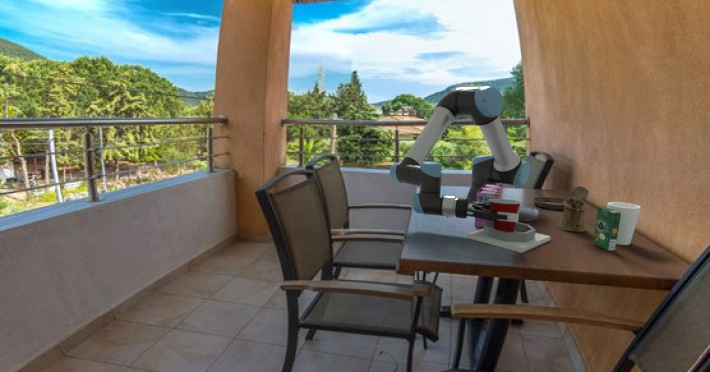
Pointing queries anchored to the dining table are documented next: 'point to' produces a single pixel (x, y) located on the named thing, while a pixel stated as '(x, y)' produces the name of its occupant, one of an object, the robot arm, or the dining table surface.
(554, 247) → the dining table surface
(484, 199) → the gum box
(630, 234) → the foam cup
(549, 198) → the plant saucer
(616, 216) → the coffee box
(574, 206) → the wooden mug
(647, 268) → the dining table surface
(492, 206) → the plastic cup
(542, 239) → the cup holder
